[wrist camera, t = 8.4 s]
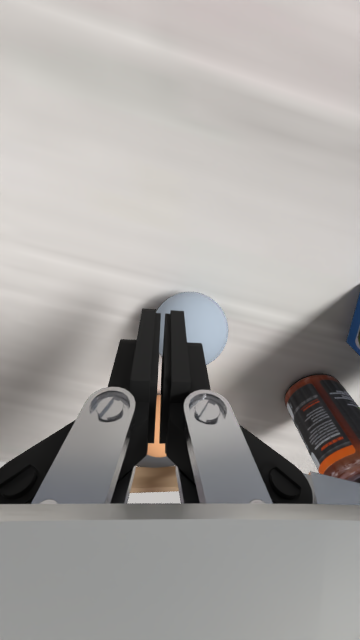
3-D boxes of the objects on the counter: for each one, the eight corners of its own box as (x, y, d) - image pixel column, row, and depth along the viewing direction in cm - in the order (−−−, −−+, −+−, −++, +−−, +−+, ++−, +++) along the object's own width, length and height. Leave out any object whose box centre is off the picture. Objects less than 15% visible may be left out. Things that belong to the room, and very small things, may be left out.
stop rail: (182, 466, 35) (183, 486, 33) (181, 470, 35) (182, 491, 33) (128, 467, 34) (127, 488, 32) (129, 472, 35) (127, 493, 33)
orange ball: (193, 461, 22) (185, 452, 27) (192, 393, 24) (184, 396, 29) (126, 463, 21) (131, 453, 26) (131, 392, 23) (134, 396, 28)
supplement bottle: (274, 408, 29) (329, 532, 20) (294, 369, 26) (372, 496, 17) (323, 410, 30) (398, 530, 21) (348, 372, 27) (451, 495, 17)
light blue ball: (242, 371, 18) (208, 337, 23) (244, 299, 16) (206, 277, 21) (168, 394, 17) (148, 352, 22) (159, 318, 15) (139, 290, 19)
